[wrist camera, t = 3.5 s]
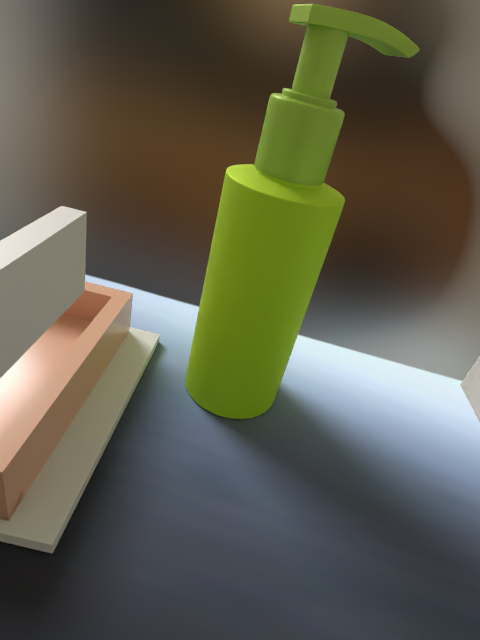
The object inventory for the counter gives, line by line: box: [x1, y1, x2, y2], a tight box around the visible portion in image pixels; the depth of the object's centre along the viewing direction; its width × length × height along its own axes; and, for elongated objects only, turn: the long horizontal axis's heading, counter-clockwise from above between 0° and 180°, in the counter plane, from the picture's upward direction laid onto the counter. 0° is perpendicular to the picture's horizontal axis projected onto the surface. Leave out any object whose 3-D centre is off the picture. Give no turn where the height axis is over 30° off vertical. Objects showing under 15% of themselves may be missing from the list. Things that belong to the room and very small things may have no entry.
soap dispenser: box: [186, 4, 419, 419], centre depth 22 cm, size 6×7×20 cm
